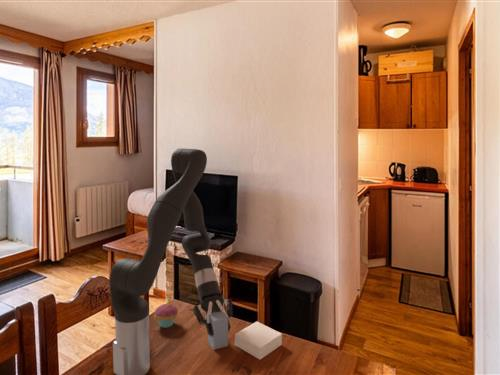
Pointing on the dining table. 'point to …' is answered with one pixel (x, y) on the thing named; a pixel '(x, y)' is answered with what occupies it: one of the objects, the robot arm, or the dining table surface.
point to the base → (258, 340)
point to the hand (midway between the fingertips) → (220, 333)
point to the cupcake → (166, 314)
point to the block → (219, 330)
